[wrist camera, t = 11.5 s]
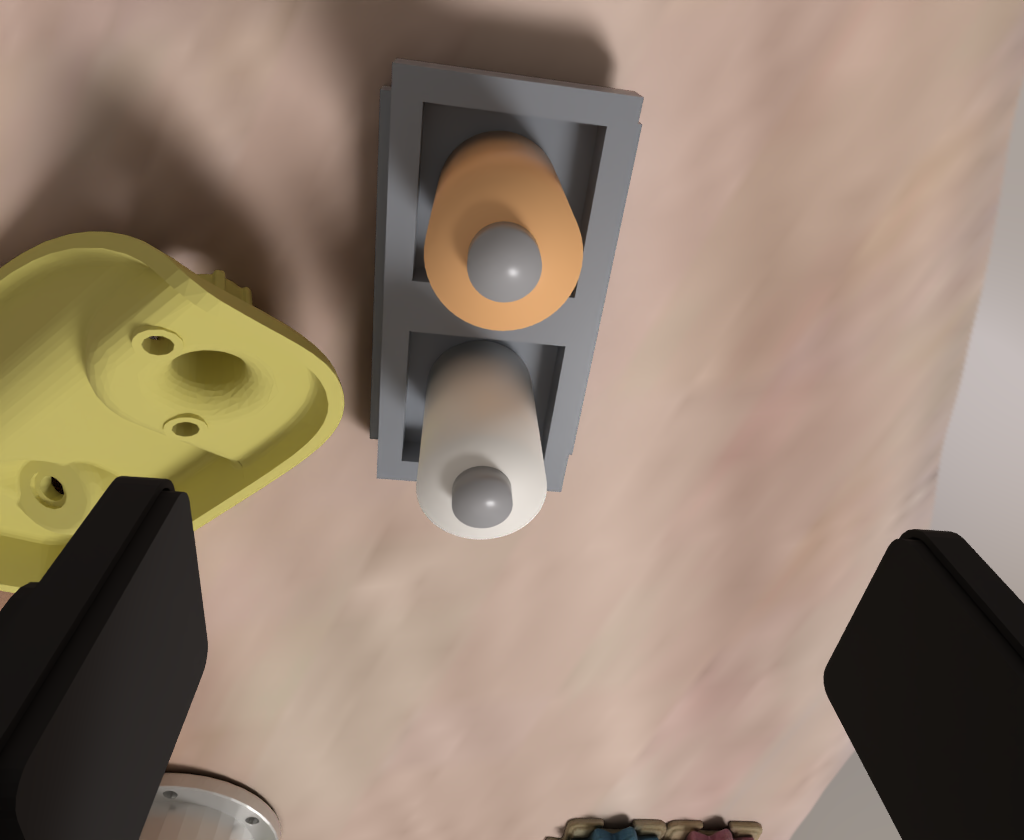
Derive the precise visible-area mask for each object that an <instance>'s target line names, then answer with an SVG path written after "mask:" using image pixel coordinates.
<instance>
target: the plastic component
mask: <svg viewBox="0 0 1024 840" xmlns="http://www.w3.org/2000/svg"><path fill="white" fill-rule="evenodd" d="M150 336H158V339H157V340H155V339H151V338H149V337H150ZM343 410H344V394H343V390H342V387H341V383H340V380H339V378H338V376H337V374H336V371H335V369H334V367H333V366H332V364H331V363H330V361H329V360H328V359H327V358H326V356H325V355H324V354H323V353H322V352H321V351H320V350H319V349H318V348H317V347H316V346H315V345H313V344H312V343H311V342H310V341H308V340H307V339H306V338H305V337H303V336H302V335H301V334H299V333H298V332H296V331H295V330H293V329H292V328H290V327H289V326H287V325H286V324H284V323H282V322H281V321H279V320H277V319H276V318H274V317H272V316H270V315H269V314H267V313H265V312H263V311H262V310H260V309H258V308H256V307H254V306H252V295H251V290H250V289H249V288H248V287H244V288H241V287H239V286H238V285H236V284H235V283H234V282H232V281H230V280H228V279H226V278H225V273H224V272H223V271H220V270H215V271H214V273H213V274H197V275H196V274H195V273H194V272H192V271H191V270H189V269H188V268H186V267H185V266H183V265H182V264H180V263H179V262H177V261H176V260H175V259H173V258H171V257H170V256H168V255H166V254H165V253H163V252H161V251H160V250H158V249H156V248H154V247H153V246H151V245H149V244H148V243H146V242H144V241H142V240H139V239H136V238H133V237H131V236H128V235H124V234H118V233H112V232H93V231H89V232H81V233H73V234H68V235H65V236H61V237H58V238H55V239H52V240H48V241H45V242H43V243H41V244H39V245H37V246H35V247H33V248H31V249H29V250H27V251H26V252H24V253H22V254H20V255H19V256H17V257H16V258H14V259H13V260H11V261H10V262H8V263H7V264H5V265H4V266H3V267H1V268H0V591H6V592H12V593H15V592H16V591H17V590H18V589H19V588H20V587H22V586H24V585H26V584H28V583H29V582H39V581H40V580H41V579H42V577H43V576H44V575H45V573H46V572H47V570H48V569H49V568H50V566H51V565H52V564H53V562H54V561H55V559H56V558H57V557H58V555H59V554H60V553H61V551H62V550H63V548H64V547H65V546H66V544H67V543H68V542H69V540H70V539H71V537H72V536H73V535H74V533H75V532H76V531H77V529H78V528H79V526H80V525H81V524H82V522H83V521H84V520H85V518H86V517H87V515H88V514H89V513H90V511H91V510H92V509H93V507H94V506H95V504H96V503H97V502H98V500H99V499H100V498H101V496H102V495H103V494H104V492H105V491H106V489H107V488H108V487H109V485H110V484H111V483H112V481H113V480H114V479H115V478H116V477H119V476H133V477H148V478H163V479H169V480H171V481H172V483H173V485H174V488H175V491H179V492H186V493H187V494H188V496H189V500H190V507H191V515H192V523H193V531H195V530H197V529H198V528H200V527H201V526H203V525H205V524H206V523H208V522H209V521H211V520H212V519H214V518H216V517H217V516H219V515H220V514H222V513H224V512H225V511H227V510H228V509H230V508H231V507H233V506H235V505H236V504H238V503H239V502H241V501H242V500H244V499H246V498H247V497H249V496H250V495H252V494H254V493H255V492H257V491H258V490H260V489H261V488H263V487H265V486H266V485H268V484H269V483H271V482H272V481H274V480H275V479H277V478H278V477H280V476H281V475H283V474H284V473H286V472H287V471H289V470H290V469H292V468H293V467H295V466H296V465H297V464H299V463H300V462H301V461H303V460H304V459H305V458H307V457H308V456H309V455H311V454H312V453H313V452H314V451H315V450H317V449H318V448H319V447H320V446H321V445H322V444H323V443H324V442H325V441H326V440H327V439H328V438H329V437H330V436H331V435H332V433H333V432H334V430H335V429H336V428H337V426H338V424H339V422H340V420H341V418H342V415H343ZM51 477H54V478H56V479H57V480H58V481H59V482H60V483H61V484H62V486H63V490H64V495H62V494H60V493H59V492H58V491H56V490H55V488H54V487H53V485H52V481H51Z"/></svg>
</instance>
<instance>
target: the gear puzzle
mask: <svg viewBox="0 0 1024 840" xmlns="http://www.w3.org/2000/svg"><path fill="white" fill-rule="evenodd" d="M603 826H604V821H603V819H573V820H571V821H570V822H568V824H567V826H566V829H565V833H564V837H563V838H555V837H547V839H546V840H758V838H759V837H760V835H761V833H762V827H761V824H759V823H756V822H734V821H732V822H730V823H729V829H723V830H721V831H707V830H700V829H701V828H703V823H702V821H685V820H677V821H672V822H669V823H668V824H666V823H665V822H663V821H662V820H634V821H633V827H627V828H625V829H604V828H602V827H603Z"/></svg>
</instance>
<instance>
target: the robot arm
mask: <svg viewBox="0 0 1024 840" xmlns="http://www.w3.org/2000/svg"><path fill="white" fill-rule="evenodd" d="M207 652H208V640H207V633H206V625H205V617H204V609H203V601H202V593H201V585H200V578H199V570H198V562H197V554H196V546H195V538H194V531H193V523H192V515H191V507H190V500H189V496H188V494H187V493H186V492H179V491H175V488H174V485H173V483H172V481H171V480H169V479H163V478H148V477H133V476H119V477H116V478H115V479H114V480H113V481H112V483H111V484H110V485H109V487H108V488H107V489H106V491H105V492H104V494H103V495H102V496H101V498H100V499H99V500H98V502H97V503H96V504H95V506H94V507H93V509H92V510H91V511H90V513H89V514H88V515H87V517H86V518H85V520H84V521H83V522H82V524H81V525H80V526H79V528H78V529H77V531H76V532H75V533H74V535H73V536H72V537H71V539H70V540H69V542H68V543H67V544H66V546H65V547H64V548H63V550H62V551H61V553H60V554H59V555H58V557H57V558H56V559H55V561H54V562H53V564H52V565H51V566H50V568H49V569H48V570H47V572H46V573H45V575H44V576H43V577H42V579H41V580H40V581H39V582H29V583H28V584H26V585H24V586H22V587H20V588H19V589H18V590H17V591H16V592H15V593H14V595H13V596H12V597H11V598H10V599H9V600H8V602H7V603H6V604H5V606H4V607H3V608H2V609H1V611H0V840H280V839H281V825H280V822H279V820H278V818H277V815H276V814H275V813H274V812H273V811H272V809H271V808H270V807H269V806H268V805H267V804H266V803H265V802H264V801H262V800H261V799H260V798H259V797H258V796H256V795H254V794H252V793H251V792H249V791H247V790H245V789H244V788H241V787H239V786H236V785H234V784H231V783H229V782H226V781H222V780H219V779H215V778H211V777H207V776H201V775H194V774H186V773H165V770H166V767H167V765H168V762H169V760H170V757H171V755H172V752H173V749H174V747H175V744H176V742H177V739H178V736H179V734H180V731H181V729H182V726H183V723H184V721H185V718H186V716H187V713H188V711H189V708H190V705H191V703H192V700H193V698H194V695H195V692H196V690H197V687H198V685H199V682H200V679H201V677H202V674H203V671H204V668H205V664H206V659H207ZM824 687H825V691H826V694H827V696H828V698H829V700H830V702H831V704H832V706H833V708H834V710H835V712H836V714H837V716H838V717H839V719H840V721H841V723H842V725H843V727H844V729H845V731H846V733H847V735H848V737H849V739H850V740H851V742H852V744H853V746H854V748H855V750H856V752H857V754H858V756H859V758H860V759H861V761H862V763H863V765H864V767H865V769H866V771H867V773H868V775H869V777H870V779H871V781H872V782H873V784H874V786H875V788H876V790H877V791H878V794H879V796H880V798H881V800H882V802H883V803H884V805H885V807H886V809H887V811H888V813H889V815H890V817H891V819H892V821H893V823H894V824H895V826H896V828H897V830H898V832H899V834H900V836H901V838H902V840H1024V603H1023V602H1022V601H1021V600H1020V599H1019V598H1018V597H1017V596H1016V595H1015V594H1014V592H1013V591H1012V590H1011V589H1010V588H1009V587H1008V586H1007V585H1006V584H1005V583H1004V582H1003V581H1002V580H1001V578H999V576H998V575H997V574H996V573H995V572H994V571H993V570H992V569H991V568H990V567H989V566H988V564H986V562H985V561H984V560H983V559H982V558H981V557H980V556H979V555H978V554H977V553H976V552H975V550H974V549H973V548H972V547H971V546H970V545H969V544H968V543H967V542H966V541H965V540H964V539H963V538H962V537H961V536H959V535H958V534H956V533H953V532H949V531H934V530H920V529H913V530H908V531H906V532H905V533H903V534H902V535H901V537H900V538H899V539H896V540H894V541H893V542H891V544H890V545H889V547H888V548H887V550H886V552H885V554H884V556H883V558H882V560H881V562H880V564H879V566H878V568H877V570H876V572H875V573H874V575H873V577H872V579H871V581H870V583H869V585H868V587H867V589H866V591H865V593H864V595H863V597H862V598H861V600H860V602H859V604H858V606H857V608H856V610H855V612H854V614H853V616H852V618H851V620H850V622H849V623H848V625H847V627H846V629H845V631H844V633H843V635H842V637H841V639H840V641H839V643H838V645H837V647H836V648H835V650H834V652H833V654H832V656H831V658H830V660H829V662H828V664H827V666H826V668H825V671H824Z"/></svg>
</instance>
